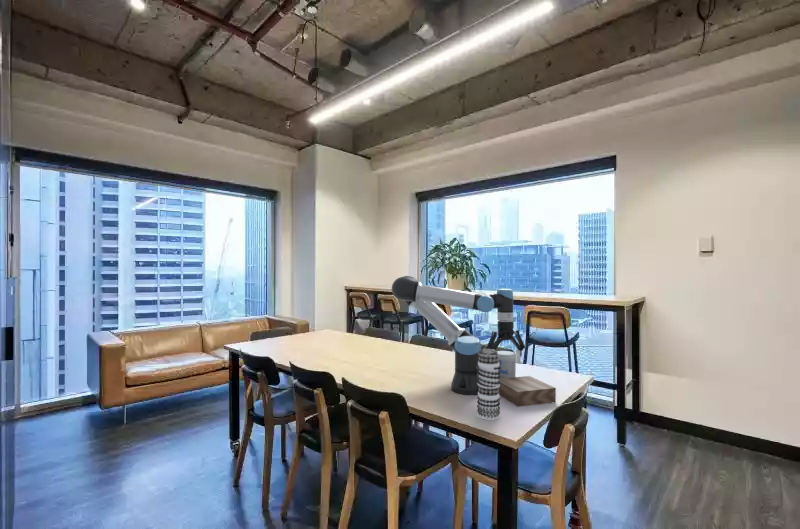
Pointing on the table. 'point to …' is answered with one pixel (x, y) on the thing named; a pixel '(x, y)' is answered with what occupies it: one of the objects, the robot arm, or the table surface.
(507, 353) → the supplement tub
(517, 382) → the walnut riser
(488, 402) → the decorative candle
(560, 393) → the table surface
